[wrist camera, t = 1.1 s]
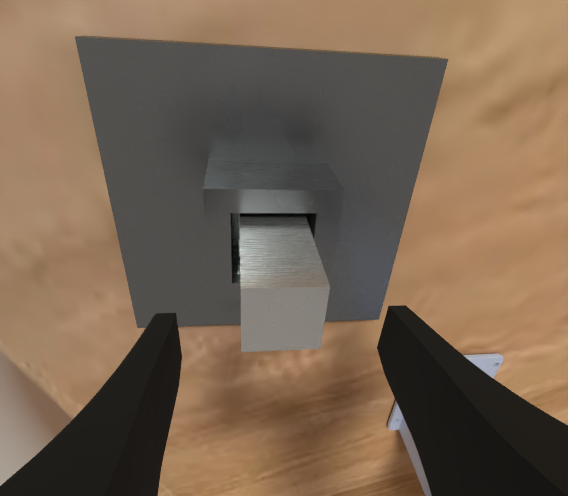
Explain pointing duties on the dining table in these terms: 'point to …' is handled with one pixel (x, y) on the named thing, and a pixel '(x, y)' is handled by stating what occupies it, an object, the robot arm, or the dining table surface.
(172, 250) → the stand
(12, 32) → the dining table surface
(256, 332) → the post
